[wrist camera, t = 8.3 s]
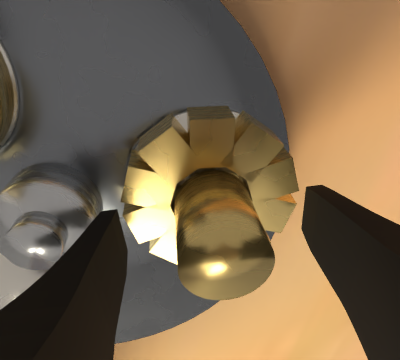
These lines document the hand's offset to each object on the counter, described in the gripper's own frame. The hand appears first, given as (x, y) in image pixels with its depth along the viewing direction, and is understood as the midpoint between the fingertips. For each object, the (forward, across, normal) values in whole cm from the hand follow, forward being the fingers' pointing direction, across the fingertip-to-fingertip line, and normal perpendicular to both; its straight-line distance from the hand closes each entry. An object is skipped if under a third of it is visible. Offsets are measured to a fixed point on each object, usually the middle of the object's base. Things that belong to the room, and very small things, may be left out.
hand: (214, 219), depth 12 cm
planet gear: (+2, 0, 0) cm, 2 cm away
